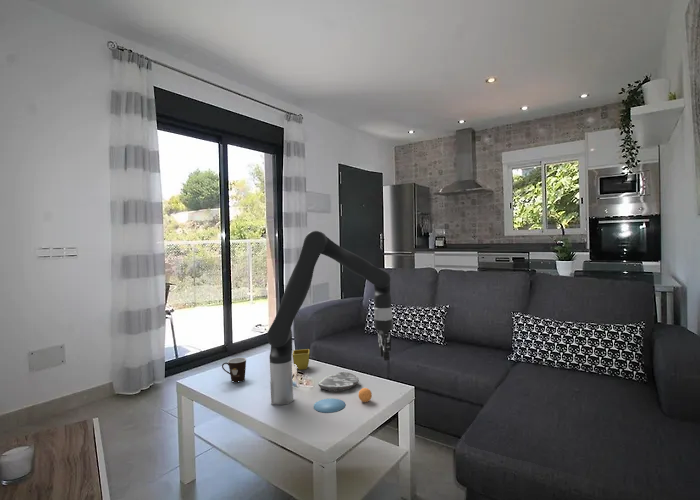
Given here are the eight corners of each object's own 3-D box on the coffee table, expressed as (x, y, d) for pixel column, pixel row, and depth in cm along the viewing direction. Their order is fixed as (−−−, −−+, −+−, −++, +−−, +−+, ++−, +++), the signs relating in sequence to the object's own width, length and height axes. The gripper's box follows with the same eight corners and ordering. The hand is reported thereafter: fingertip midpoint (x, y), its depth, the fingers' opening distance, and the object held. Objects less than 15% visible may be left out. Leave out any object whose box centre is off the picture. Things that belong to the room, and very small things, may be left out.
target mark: (314, 414, 148) (314, 413, 148) (312, 400, 161) (312, 400, 161) (347, 410, 150) (347, 410, 150) (342, 397, 163) (342, 397, 163)
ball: (360, 405, 155) (359, 391, 155) (357, 399, 160) (357, 386, 160) (373, 403, 156) (372, 390, 156) (370, 398, 161) (369, 385, 161)
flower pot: (294, 366, 207) (293, 349, 207) (310, 365, 208) (309, 348, 208) (293, 371, 198) (292, 354, 198) (309, 370, 199) (309, 353, 199)
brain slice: (343, 397, 164) (343, 390, 164) (312, 390, 174) (312, 383, 173) (367, 382, 180) (366, 376, 180) (337, 376, 190) (337, 370, 190)
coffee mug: (250, 378, 190) (249, 358, 190) (237, 384, 183) (236, 364, 183) (234, 375, 196) (234, 355, 196) (221, 380, 189) (220, 360, 189)
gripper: (370, 315, 165) (372, 354, 166) (378, 321, 151) (380, 364, 151) (387, 314, 166) (388, 352, 167) (397, 320, 152) (398, 362, 153)
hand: (384, 358), depth 159 cm, fingers open, 5 cm apart
